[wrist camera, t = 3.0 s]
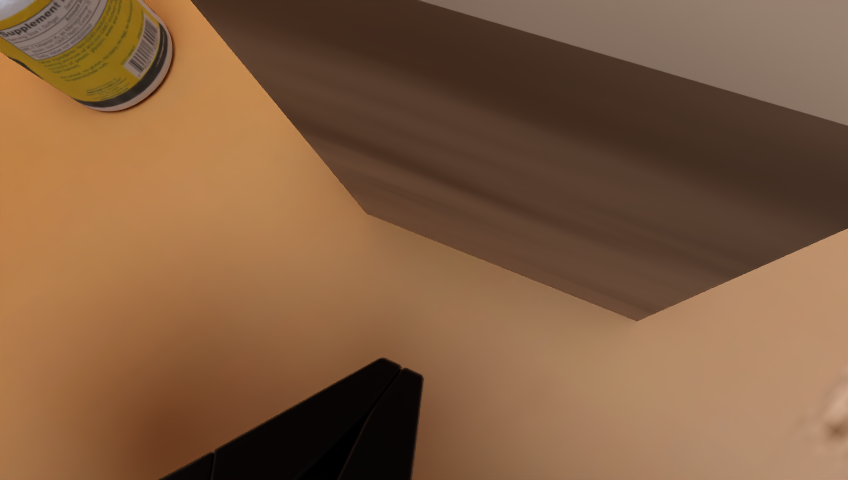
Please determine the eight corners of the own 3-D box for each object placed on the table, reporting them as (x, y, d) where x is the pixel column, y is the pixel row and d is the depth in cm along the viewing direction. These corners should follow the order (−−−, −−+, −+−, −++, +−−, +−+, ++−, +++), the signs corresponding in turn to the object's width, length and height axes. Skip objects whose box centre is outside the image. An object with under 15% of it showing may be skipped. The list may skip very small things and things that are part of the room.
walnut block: (636, 321, 17) (987, 166, 5) (367, 213, 19) (118, -89, 7) (730, 62, 19) (1175, -560, 6) (472, -10, 21) (425, -581, 9)
